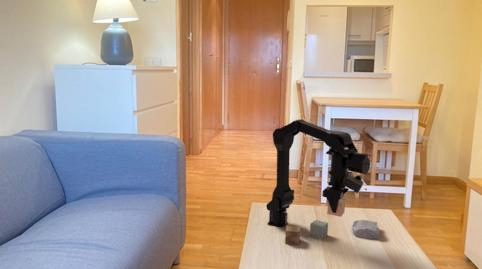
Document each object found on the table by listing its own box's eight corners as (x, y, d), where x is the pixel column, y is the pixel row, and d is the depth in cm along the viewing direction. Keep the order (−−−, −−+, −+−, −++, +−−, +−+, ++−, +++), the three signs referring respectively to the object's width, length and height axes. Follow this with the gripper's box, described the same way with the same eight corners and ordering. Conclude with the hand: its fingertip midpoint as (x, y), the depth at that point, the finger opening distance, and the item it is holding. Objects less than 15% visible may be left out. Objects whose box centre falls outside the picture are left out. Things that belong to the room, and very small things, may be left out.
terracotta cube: (327, 214, 146) (328, 200, 145) (330, 209, 150) (331, 196, 149) (341, 216, 144) (342, 203, 143) (344, 212, 148) (345, 199, 147)
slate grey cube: (309, 235, 156) (310, 223, 155) (315, 231, 160) (316, 219, 159) (321, 239, 153) (322, 226, 152) (327, 235, 157) (328, 222, 156)
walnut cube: (285, 243, 149) (285, 230, 148) (286, 238, 154) (286, 225, 153) (298, 245, 148) (299, 232, 147) (299, 239, 153) (300, 226, 152)
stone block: (354, 242, 156) (381, 240, 154) (352, 230, 155) (379, 228, 153) (352, 231, 167) (377, 229, 165) (350, 219, 167) (375, 217, 165)
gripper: (357, 177, 132) (353, 223, 135) (367, 165, 149) (363, 206, 152) (323, 173, 137) (320, 217, 140) (336, 161, 154) (333, 201, 156)
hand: (335, 210), depth 147 cm, fingers closed on terracotta cube, 5 cm apart
